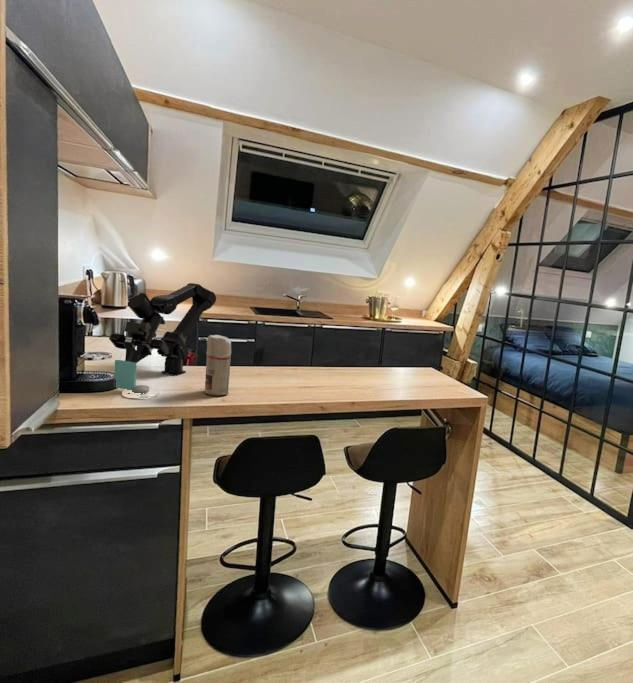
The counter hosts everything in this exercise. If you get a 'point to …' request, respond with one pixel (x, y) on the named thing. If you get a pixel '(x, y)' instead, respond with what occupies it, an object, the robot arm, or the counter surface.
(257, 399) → the counter surface
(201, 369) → the counter surface
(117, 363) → the teal panel
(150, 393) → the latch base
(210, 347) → the spray can
